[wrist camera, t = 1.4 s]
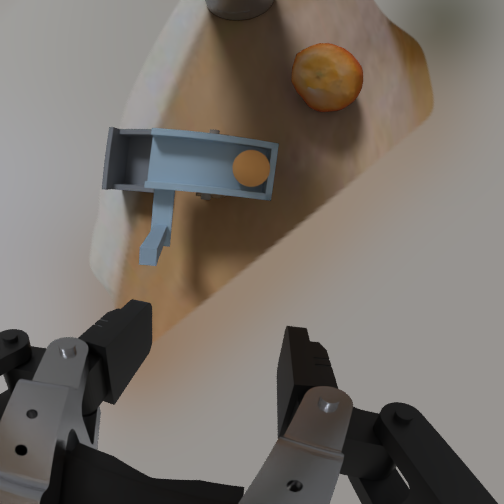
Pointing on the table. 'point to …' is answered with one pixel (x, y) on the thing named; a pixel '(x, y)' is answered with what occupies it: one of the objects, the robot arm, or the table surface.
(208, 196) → the fulcrum
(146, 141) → the tray
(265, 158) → the ball
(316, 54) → the fruit
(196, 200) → the table surface
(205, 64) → the table surface
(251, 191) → the lever
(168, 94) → the table surface
